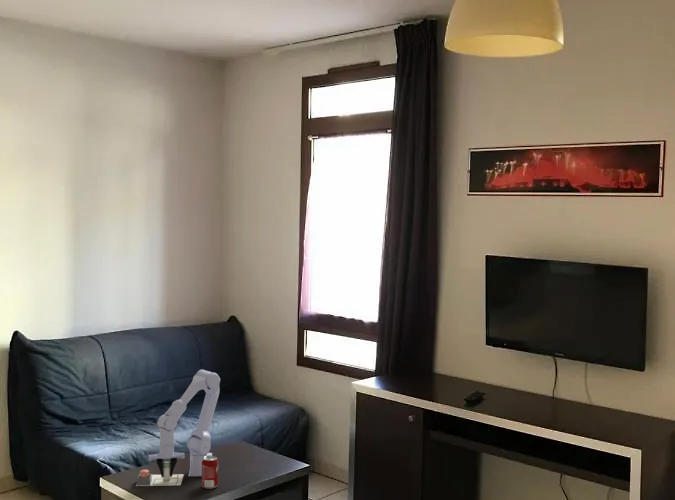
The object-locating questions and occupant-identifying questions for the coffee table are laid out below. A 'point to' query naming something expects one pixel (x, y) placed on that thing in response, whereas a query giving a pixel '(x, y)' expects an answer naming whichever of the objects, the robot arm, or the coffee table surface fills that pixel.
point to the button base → (144, 480)
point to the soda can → (210, 472)
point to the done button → (144, 473)
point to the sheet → (158, 481)
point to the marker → (166, 471)
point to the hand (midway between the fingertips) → (166, 476)
